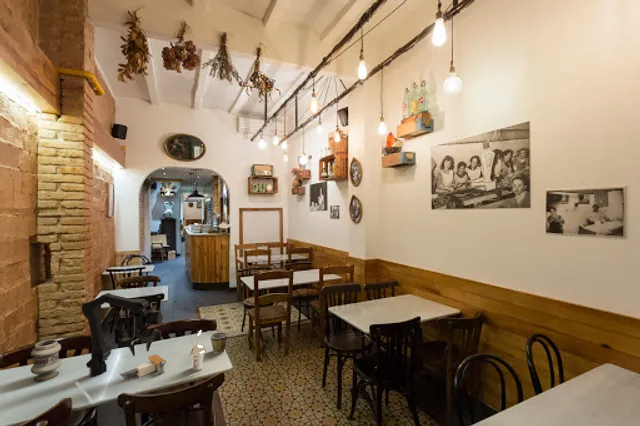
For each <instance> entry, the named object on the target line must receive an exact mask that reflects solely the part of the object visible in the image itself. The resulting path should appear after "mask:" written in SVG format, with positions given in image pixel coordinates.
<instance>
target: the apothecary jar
mask: <svg viewBox="0 0 640 426" xmlns="http://www.w3.org/2000/svg"><path fill="white" fill-rule="evenodd" d="M61 349H62V345H61V344H60V343H59V342H58V340H57V339H45V340H42V341H39V342H37V343H36V344H35V346H34V348H33V349H32V350H31V352H30V356H31V357H32V358H33V365H31V368H30V372H31V373H32V374H33V375H36V376H35V377H34V378H33V381H34V382H36V383H39V382H46V381H50V380H52V379H53V380H54V379H55V378H56V377H58V376H59V374H60V372H59V371H57V370H58V369H59V368H60V367H61V365H63V364H62V363H63V361H62V359H61V358H59V357H60V356H59V352H60V350H61Z"/></svg>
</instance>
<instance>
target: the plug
mask: <svg viewBox="0 0 640 426" xmlns="http://www.w3.org/2000/svg"><path fill="white" fill-rule="evenodd" d="M135 368H136V371H135V370H134V372H132V373H129V374H126V373H125V374H126V376H125V378H126V377H130V378H131V376H133V375H134V376H136V375H137V376H136V377H138V378H139V377H140V378H142V376H143V375H144V376H146V374H150V373H155V371H156V370H155V364H154V363H153V362H151V361H147V362H145V363H142V364H140V365H137V366H136V367H135ZM144 376H143V377H144Z"/></svg>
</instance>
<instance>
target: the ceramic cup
mask: <svg viewBox="0 0 640 426" xmlns="http://www.w3.org/2000/svg"><path fill="white" fill-rule="evenodd" d="M209 337H210V338H209V339H210V342H211V346H212V352H213V354H215V355H220V354H222V353H224V352H225V351H224V350H226V344H227V340H228V339H227V338H228V333H226V332H222V331H220V332H219V331H218V332H214V333H212V334H211V335H210V336H209Z"/></svg>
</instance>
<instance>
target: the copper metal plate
mask: <svg viewBox="0 0 640 426" xmlns="http://www.w3.org/2000/svg"><path fill="white" fill-rule="evenodd" d="M147 360H148V361H149V362H153V363H154V364H156V365H157V366H164V367H165V365H166V364H167V360H165V359H164V358H162V357H161V356H160V355H158V354H152V355H150V356H148V359H147Z"/></svg>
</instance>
